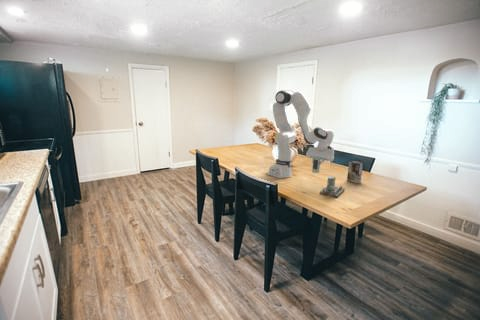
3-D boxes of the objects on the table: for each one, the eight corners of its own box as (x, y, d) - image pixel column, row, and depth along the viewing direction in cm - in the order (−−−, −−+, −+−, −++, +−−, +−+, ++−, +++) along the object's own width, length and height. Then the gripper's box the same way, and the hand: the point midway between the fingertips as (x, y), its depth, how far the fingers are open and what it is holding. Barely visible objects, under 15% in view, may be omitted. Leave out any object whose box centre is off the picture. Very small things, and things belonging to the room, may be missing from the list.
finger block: (311, 172, 185) (313, 158, 182) (314, 170, 188) (315, 157, 185) (317, 173, 183) (318, 159, 180) (319, 172, 186) (320, 158, 183)
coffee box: (361, 181, 201) (363, 162, 197) (357, 183, 197) (360, 164, 193) (350, 178, 208) (352, 160, 204) (346, 180, 204) (348, 161, 200)
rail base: (319, 193, 175) (321, 177, 172) (328, 186, 189) (329, 171, 186) (336, 198, 168) (339, 180, 165) (344, 190, 182) (346, 174, 179)
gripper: (308, 144, 192) (302, 158, 187) (335, 148, 180) (329, 163, 175) (310, 148, 197) (304, 163, 192) (336, 153, 185) (330, 168, 180)
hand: (316, 163), depth 184 cm, fingers closed on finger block, 4 cm apart
